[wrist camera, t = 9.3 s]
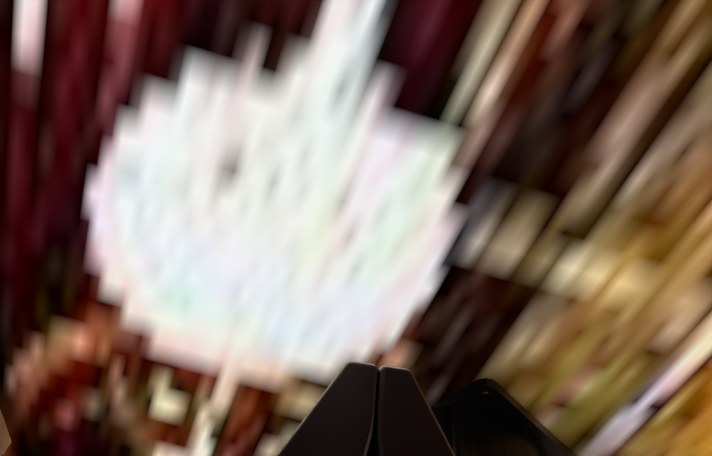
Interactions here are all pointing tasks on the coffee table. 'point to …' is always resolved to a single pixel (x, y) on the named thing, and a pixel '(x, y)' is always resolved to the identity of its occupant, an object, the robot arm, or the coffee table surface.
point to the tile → (3, 436)
